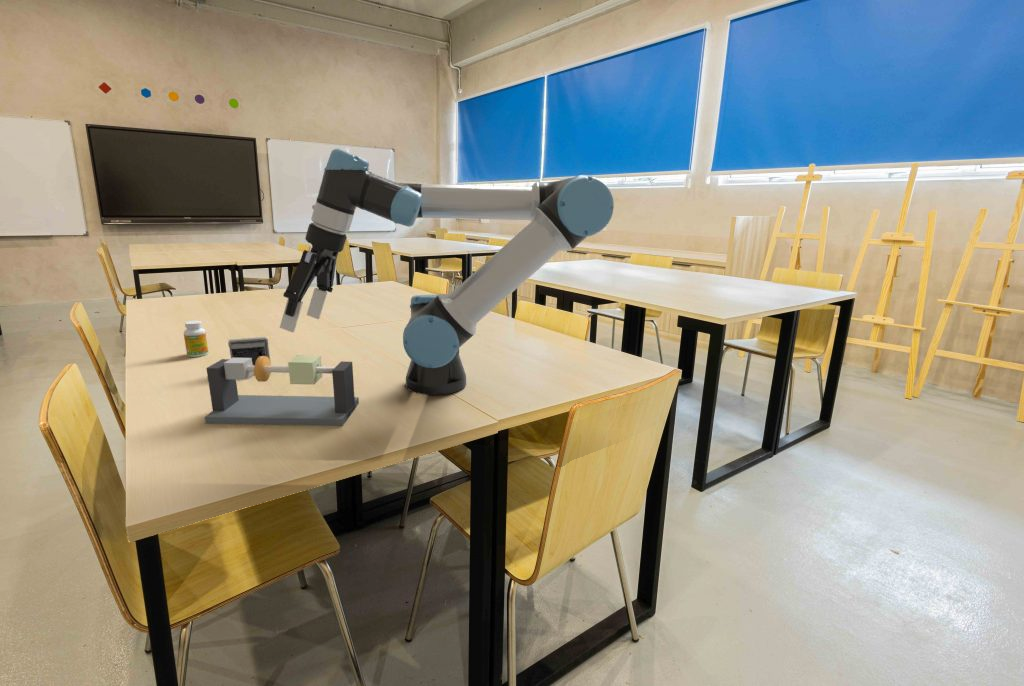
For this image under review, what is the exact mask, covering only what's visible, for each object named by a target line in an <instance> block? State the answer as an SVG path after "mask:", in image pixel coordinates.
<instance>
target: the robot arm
mask: <svg viewBox="0 0 1024 686" xmlns="http://www.w3.org/2000/svg"><path fill="white" fill-rule="evenodd" d="M369 167H370V162H369V161H368V160H367V159H365V158H363V157H360V156H357V155H355V154H353V153H350V152H348V151H346V150H343V149H340V148H334V149H332V150H331V152H330V155H329V157H328V160H327V163H326V165H325V167H324V170H323V174H322V175H323V176H322V179H321V183H320V186H319V190H318V195H317V197H316V201H315V204H313V205H312V206H311V209H312V210H313V211H312V214H311V221H312V222H311V223H309V224H308V228H307V231H306V234H305V241H306V242H307V243H309V244H310V245H311V246H312V247H311V248H310V250H306V249H305V250H303V252H302V255H301V258H300V260H299V262H298V264H297V266H296V269H295V271H294V273H293V275H292V277H291V278H290V281H289V283H288V285H287V287H286V288H285V289H286V290H285V291H284V292H283V294H282V295H283V296H282V297H284V298H286V299H287V301H286V304H285V307H284V311H283V314H282V317H281V321H280V324H279V328H280V329H283V330H285V331H287V332H291V333H294V332H295V330H296V327H297V323H298V320H299V316H300V313H301V310H302V306H303V302H304V301H303V299H304V297H305V295H306V293H307V291H309V290H308V289H309V288H310V287H311V285H312V283H313V282H314V280H315V278H316V287H315V288H314V290H313V292H312V296H311V299H310V303H309V306H308V309H307V312H306V316H308V317H312V318H314V319H317V320H319V319H320V318H321V315H322V312H323V308H324V305H325V302H326V297H327V295H328V293H332V292H333V290H334V288H333V286H334V281H335V280H334V279H335V272H336V265H337V260H338V259H337V258H338V256H339V253H341V252H343V251H344V248H345V245H346V241H347V233H349V232H350V228H351V225H352V221H353V219H354V216H355V212H356V209H357V208H358V209H360V210H363V211H366V212H368V213H371V214H374V215H376V216H379V217H381V218H383V219H386V220H389V221H391V222H393V223H394V224H395V225H396V224H398V225H401V226H405V227H407V228H408V227H409V228H410V227H412V226H414V224H415V223H416V220H417V219H420V218H421V219H422V218H423V219H460V220H461V219H463V220H464V219H467V220H468V219H469V220H471V219H472V220H504V221H508V220H509V221H510V220H511V221H529V222H530V223H528V224H527V225H526V226H525V227H524V228H523V229H521V230H520V231H519V232H518V233H517V234H516V235H514V237H512V238H511V239H510V241H508V242H507V243H506V244H505V245H504V246H502V247H501V248H500V249H498V251H497V252H496V253H495V254H493V255H492V256H491V257H490V258H489V259H488V260H487V261H485V262H484V263H483V264H482V265H481V266H480V267H479V268H477V270H475V271H474V272H473V273H472V274H471V275H470V276H468V277H467V278H466V279H465V280H464V281H463V282H462V283H461V284H459V285H458V286H457V287H456V288H455V289H454V290H453V291H452V292H450V293H439V294H418V295H417V294H416V295H413V296H412V297H411V298H410V304H409V309H410V318H409V321H408V323H407V324H406V326H405V327H404V329H403V333H402V343H403V344H402V346H403V348H404V351H405V353H406V355H407V356H408V358H409V360H410V362H409V365H408V368H407V372H406V374H405V375H406V376H405V386H406V389H407V390H409V391H410V392H413V393H416V394H420V395H427V396H429V395H430V396H437V395H438V396H439V395H450V394H453V393H457V392H459V391H461V390H463V389H464V388H465V387H466V385H467V375H466V371H465V368H464V365H463V362H462V359H461V356H460V348H461V347H462V346H463V345H464V344H466V342H468V340H470V339H471V338H472V337H473V336H475V334H476V332H477V331H476V330H477V324H478V323H479V322H480V321H481V320H483V318H485V317H486V316H487V315H488V314H490V312H491V311H493V310H494V309H495V308H496V307H497V306H499V305H500V304H501V303H502V302H503V301H504V300H505V299H507V298H508V296H510V295H511V294H512V293H513V292H515V291H516V290H517V289H518V288H519V287H520V286H521V285H522V284H523V283H525V282H526V281H527V280H528V279H529V278H531V277H532V276H533V275H534V274H535V273H537V272H538V271H539V270H540V269H541V268H542V267H544V265H546V263H548V262H550V260H551V259H553V257H554V256H556V255H557V254H558V253H559V252H562V251H565V252H566V251H567V252H572V251H573V250H574V249H575V248H576V247H577V246H578V245H579V244H580V243H582V242H583V241H584V240H586V238H587V237H591V236H594V235H596V234H598V233H600V232H601V231H602V230H604V229H605V228H606V227H607V225H608V224H609V223H610V220H611V219H612V217H613V214H614V203H615V202H614V198H613V194H612V192H611V190H610V188H609V187H608V185H607V184H606V183H605V182H604V181H602V180H601V179H600V178H597V177H594V176H592V175H589V174H588V175H587V174H581V175H576V176H574V177H569V178H566V179H565V178H564V179H560V180H555V181H546V182H545V181H542V182H541V181H535V182H534V184H532V185H530V186H527V185H526V186H524V185H523V186H519V185H485V184H484V185H483V184H482V185H481V184H479V185H478V184H447V183H446V184H443V183H442V184H440V183H438V184H437V183H411V182H410V183H407V182H406V183H405V182H396V181H393V180H391V179H388V178H385V177H383V176H381V175H378V174H375V173H373V172H372V171H370V169H369Z"/></svg>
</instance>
